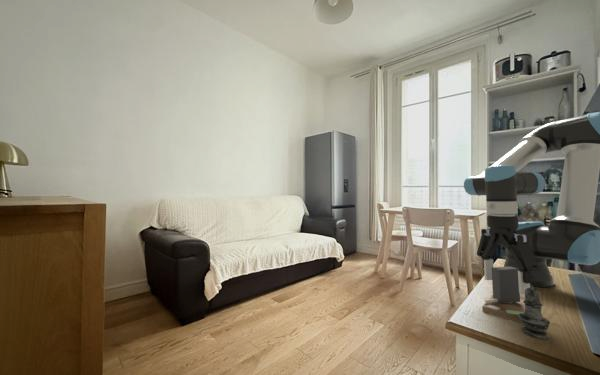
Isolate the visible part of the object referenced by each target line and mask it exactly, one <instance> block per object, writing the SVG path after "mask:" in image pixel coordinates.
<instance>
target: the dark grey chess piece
mask: <svg viewBox="0 0 600 375" xmlns="http://www.w3.org/2000/svg"><path fill="white" fill-rule="evenodd" d="M523 302H524V303H525V312H524V313H520V314H518V316H519V318H520V320H521V322H520V323H521V324H522V325H523V326H522V327H520V329H519V330H520V332H521V333H523V334H525V335H527V336H529V337H530V338H535V339H538V340H548V339H550V335H549V334H548V333H547V332H545V331H547V330H548V328H549V326H550V324H551V321H550V320H549V319H547V318H546V317H544V316H543V313H542V307H543V304H542V303H541V293H540V291H539V290H538V289H536V288H535V287H534V286H532V285H531V286H530V288H527V289H525V300H524V301H523Z"/></svg>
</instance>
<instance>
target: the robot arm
mask: <svg viewBox="0 0 600 375" xmlns="http://www.w3.org/2000/svg"><path fill="white" fill-rule="evenodd" d="M557 151H560V153H562V154H563V155H565V156H564V163H563V170H562V175H561V176H562V178H561V183H560V184H561V185H560V190H559V197H558V205H557V210H556V211H557V212H556V216H555V217H554V218H551V219H549V224H548V225H545V223H544V222H543V221H537V220H536V221H519V217H518V216H517V215H519V214H518V213H519V211H518V196H532V195H536V194H539V193H541V192H542V191H543V190H545V187H546V179H545V177H544V176H543V175H542V174H540V173H538V172H535V171H529V170H528V171H521V169H522V168H524V167H526V165H528V164H529V163H530V162H532V161H533V160H534V159H535V158H540V157H542V156H543V155H544V154H547V153H551V152H557ZM599 177H600V111H597V112H596V111H595V112H589V113H587V114H583V115H578V116H573V117H569V118H565V119H561V120H560V119H559V120H555V121H551V122H548V123H545V124H544V125H541V126H540V127H537V128H536V129H534V130H532V131H530V132H529V133H527V134H526V135H525V136H523V137H522V138H521V139H520V140H519V141H518V142H517V144H516V146H515V147H513V148H512V149H511V150H509V151H508V152H507V153H505V154H504V155H503V156H502V157H500V158H499V159H497V161H495V162H494V163H493V164H492V165H490V166H487V167H486V168H485V170H483V171H481V173H480V174H478V175H472V176H468V177H466V178H465V180H464V181H463V189H464V191H465V192H466V193H467V194H468V195H469V196H479V197H480V196H486V198H485V199H486V200H485V201H486V202H485V203H486V213H487V214H488V215H487V216H486V224H487V227H488V228H482V229H480V232H481V236H480V239H479V243H478V248H477V251H476V255H477V257H481V259H482V269H483V270H484V271H483V272H484V275H483V276H484V280H485V281H492V267H494V259H493V255H494V254H495V252H496V251H497V249H498V248H499V246H503V247H505V255H506V256H505V261H504V264H503V267H509V266H511V267H514V268H517V269H518V282H519V294H522V295H523V294H525V289H527V288H531V287H530V286H531V285H532V286H533V287H537V288H545V287H547V288H548V287H553V286H554V284H555V283H554V276H553V275H552V274H551V272H550V269H549V267H548V264H547V259H551V260H556V261H561V262H566V263H571V264H574V265H576V264H577V265H585V266H593V265H596V264H599V263H600V226H599V225H598V224H597V223H596V222H595V221H594V218H595V209H596V202H597V194H598V186H599V185H598V184H599Z"/></svg>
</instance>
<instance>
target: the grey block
mask: <svg viewBox="0 0 600 375" xmlns="http://www.w3.org/2000/svg"><path fill="white" fill-rule="evenodd" d="M491 281H492V295H493V299H489V298H486V299H485V298H484V299H483V300H484V301H483V302H484V303H487V302H499V303H507V304H512V303H513V302H520V294H519V282H518V269H517V268H514V267H511V266H509V267H504V266H493V267H492V280H491Z"/></svg>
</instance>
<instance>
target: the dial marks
mask: <svg viewBox="0 0 600 375" xmlns="http://www.w3.org/2000/svg"><path fill="white" fill-rule="evenodd" d="M486 307H489V308H491V309H494V310H499V309H501V308H499V307H496V306H493V305H487V306H486ZM506 311H507V313H508V314H515V315H518V314H520V313H523V312H519V311H512V310H506Z"/></svg>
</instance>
